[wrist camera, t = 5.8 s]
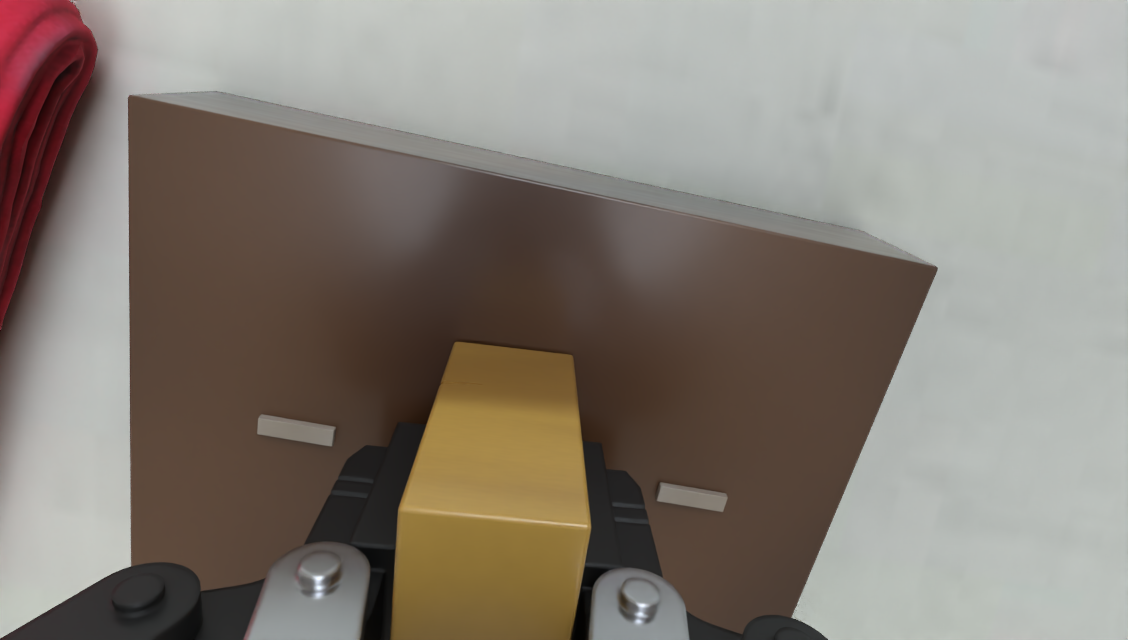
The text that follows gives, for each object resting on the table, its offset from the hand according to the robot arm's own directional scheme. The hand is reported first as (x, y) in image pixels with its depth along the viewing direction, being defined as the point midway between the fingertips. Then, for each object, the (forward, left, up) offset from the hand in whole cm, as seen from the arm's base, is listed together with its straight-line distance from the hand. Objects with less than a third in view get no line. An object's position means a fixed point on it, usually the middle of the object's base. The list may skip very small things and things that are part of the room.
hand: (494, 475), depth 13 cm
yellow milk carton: (0, 0, 0) cm, 0 cm away
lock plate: (0, 0, -3) cm, 3 cm away
